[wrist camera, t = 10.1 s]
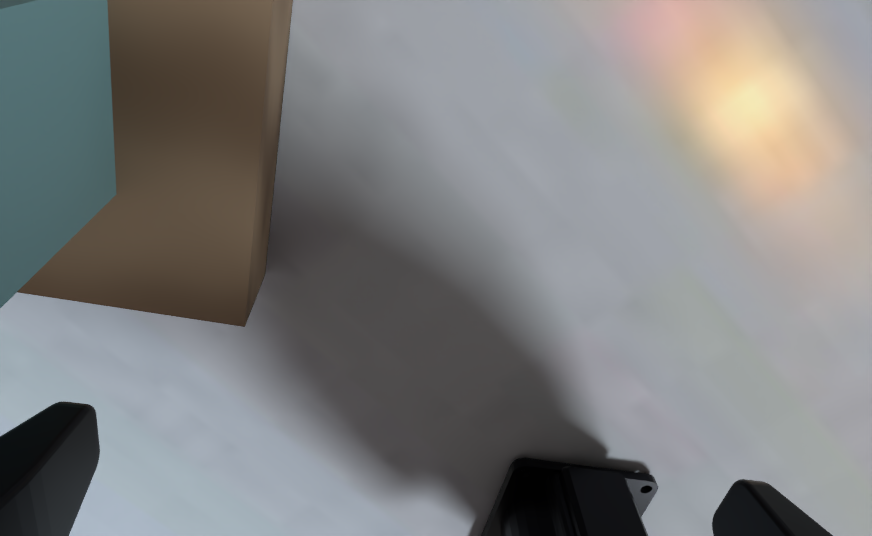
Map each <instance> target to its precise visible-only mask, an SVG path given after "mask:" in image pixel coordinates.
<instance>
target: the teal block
mask: <svg viewBox="0 0 872 536" xmlns="http://www.w3.org/2000/svg"><path fill="white" fill-rule="evenodd" d="M115 195H116V174H115V153H114V132H113V111H112V90H111V68H110V47H109V26H108V5H107V0H0V308H1V307H2V306H3V305H4V304H5V303H6V302H7V301H8V300H9V299H10V298H11V297H12V296H13V295H14V294H15V293H16V292H17V291H18V290H19V289H20V288H21V287H22V286H23V285H24V284H26V283H27V282H28V281H29V280H30V279H31V278H32V277H33V276H34V275H35V274H36V273H37V272H38V271H39V270H40V269H41V268H42V267H43V266H44V265H45V264H46V263H47V262H48V261H49V260H50V259H51V258H52V257H53V256H54V255H55V254H56V253H57V252H58V251H59V250H60V249H61V248H62V247H63V246H64V245H65V244H66V243H67V242H68V241H69V240H70V239H71V238H72V237H73V236H74V235H76V234H77V233H78V232H79V231H80V230H81V229H82V228H83V227H84V226H85V225H86V224H87V223H88V222H89V221H90V220H91V219H92V218H93V217H94V216H95V215H96V214H97V213H98V212H99V211H100V210H101V209H102V208H103V207H104V206H105V205H106V204H107V203H108V202H109V201H110V200H111V199H112V198H113V197H114V196H115Z"/></svg>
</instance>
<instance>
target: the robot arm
mask: <svg viewBox="0 0 872 536" xmlns="http://www.w3.org/2000/svg"><path fill="white" fill-rule="evenodd" d="M99 454H100V447H99V437H98V428H97V418H96V412H95V409H94V408H93V407H92V406H91V405H89V404H81V403H72V402H58V403H55V404H53V405H51V406H50V407H48V408H46V409H45V410H43V411H41V412H40V413H38V414H36V415H35V416H33V417H31V418H30V419H28V420H27V421H25V422H23V423H22V424H20V425H18V426H17V427H15V428H13V429H12V430H10V431H9V432H7V433H5V434H4V435H2V436H0V536H69V534H70V531H71V529H72V526H73V524H74V521H75V519H76V517H77V514H78V512H79V509H80V507H81V504H82V502H83V499H84V497H85V495H86V492H87V490H88V487H89V485H90V482H91V480H92V477H93V475H94V473H95V470H96V467H97V464H98V460H99ZM522 470H524V471H522ZM657 489H658V486H657V483H656V481H655V479H654V477H653V476H652V475H649V474H644V473H636V472H628V471H620V470H613V469H605V468H597V467H589V466H582V465H574V464H566V463H558V462H550V461H543V460H535V459H527V458H521V459H517V460H515V461H514V462H513V463H512V464H511V466H510V468H509V471H508V473H507V476H506V478H505V480H504V483H503V485H502V488H501V490H500V492H499V495H498V497H497V500H496V502H495V505H494V507H493V509H492V512H491V514H490V517H489V519H488V521H487V524H486V526H485V529H484V531H483V534H482V536H648V534H647V532H646V529H645V527H644V524H643V521H642V519H641V516H642V515H643V513H644V511H645V510H646V508H647V507H648V505H649V503H650V502H651V500H652V498H653V497H654V495H655V493H656V492H657ZM712 527H713V534H714V536H833V535H831V534H830V533H829V532H828V531H826V530H825V529H824V528H823V527H821V526H820V525H819V524H818V523H817V522H815V521H814V520H813V519H812V518H810V517H809V516H808V515H807V514H805V513H804V512H803V511H802V510H801V509H799V508H798V507H797V506H796V505H794V504H793V503H792V502H791V501H789V500H788V499H787V498H786V497H785V496H783V495H782V494H781V493H780V492H778V491H777V490H776V489H775V488H773V487H772V486H771V485H770V484H768V483H765V482H762V481H753V480H745V479H741V480H738V481H736V482H735V483H734V484H733V485H732V486H731V488H730V490H729V491H728V493H727V494H726V496H725V498H724V499H723V501H722V502H721V504H720V505H719V507H718V509H717V510H716V512H715V514H714V517H713V522H712Z"/></svg>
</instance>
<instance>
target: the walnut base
mask: <svg viewBox="0 0 872 536" xmlns="http://www.w3.org/2000/svg"><path fill="white" fill-rule="evenodd" d="M292 3H293V0H107V5H108V26H109V47H110V68H111V90H112V111H113V132H114V153H115V174H116V195H115V196H114V197H113V198H112V199H111V200H110V201H109V202H108V203H107V204H106V205H105V206H104V207H103V208H102V209H101V210H100V211H99V212H98V213H97V214H96V215H95V216H94V217H93V218H92V219H91V220H90V221H89V222H88V223H87V224H86V225H85V226H84V227H83V228H82V229H81V230H80V231H79V232H78V233H77V234H76V235H74V236H73V237H72V238H71V239H70V240H69V241H68V242H67V243H66V244H65V245H64V246H63V247H62V248H61V249H60V250H59V251H58V252H57V253H56V254H55V255H54V256H53V257H52V258H51V259H50V260H49V261H48V262H47V263H46V264H45V265H44V266H43V267H42V268H41V269H40V270H39V271H38V272H37V273H36V274H35V275H34V276H33V277H32V278H31V279H30V280H29V281H28V282H27V283H26V284H24V285H23V286H22V287H21V288H20V289H19V290H18V291H17V292H19V293H26V294H33V295H39V296H46V297H52V298H59V299H66V300H72V301H79V302H85V303H92V304H98V305H105V306H112V307H118V308H125V309H131V310H138V311H144V312H151V313H158V314H164V315H171V316H177V317H184V318H191V319H197V320H204V321H210V322H217V323H223V324H230V325H237V326H243V327H245V325H246V322H247V320H248V317H249V314H250V312H251V309H252V307H253V304H254V301H255V299H256V296H257V294H258V291H259V288H260V286H261V283H262V281H263V278H264V276H265V270H266V261H267V251H268V241H269V231H270V221H271V211H272V201H273V191H274V181H275V171H276V161H277V152H278V142H279V132H280V122H281V112H282V102H283V92H284V82H285V72H286V62H287V52H288V43H289V33H290V23H291V13H292Z"/></svg>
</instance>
